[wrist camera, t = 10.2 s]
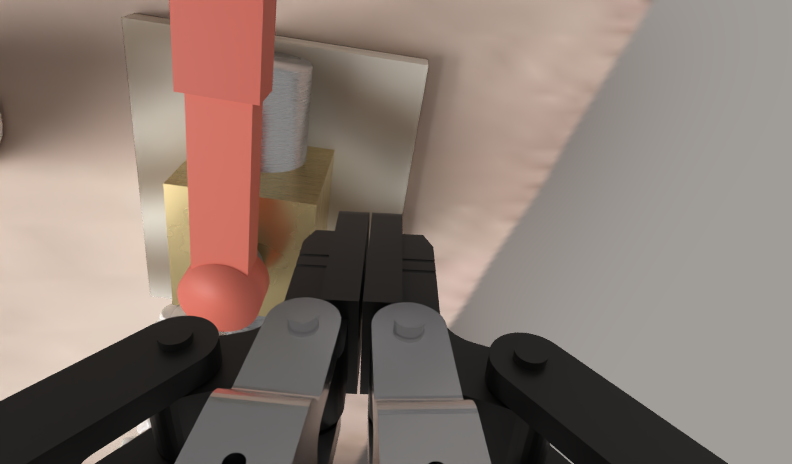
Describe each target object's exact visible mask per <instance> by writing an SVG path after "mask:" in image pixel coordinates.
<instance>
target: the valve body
mask: <svg viewBox="0 0 792 464" xmlns="http://www.w3.org/2000/svg"><path fill="white" fill-rule="evenodd" d="M312 69H313V65H312V63H310V62H309V61H308V60H306V59H303V58H301V57H298V56H295V55H291V54H287V53H282V52H276V51H274V65H273V87H272V92H271V93H270V94H269V95H268V96H267V98H266V99H265V100H264V101H263V112H262V139H261V166H260V193H259V219H258V246H257V250H258V251H259V253H260V254H261V256H262V259H263V263H264V264H265V266H266V268H267V270H268V273H269V278H270V283H269V288H268V291H267V293H266V296H265V298H264V301H263V304H262V306H261V309H260V311H259V314H258V316H257V318H256V319H255V320H254V321H253V322H252V323H251V324H250V325H249V326H247V327H245V328H243V329H241V330H237V331H231V332H225V333H226V335H228V334H234V333H240V332H245V331H249V330H252V329H256V328H258V327H260V326H262V324H263V321H264V319H265V317H266V315H267V314H268V312H269V311H270V310H271V309H272V308H273V307H275V306H276V305H278V304H280V303H282V302H284V300H285V297H286V294H287V291H288V287H289V284H290V281H291V278H292V275H293V272H294V269H295V267H296V262H297V259H298V256H299V253H300V250H301V247H302V244H303V241H304V240H305V239H306V238H307V237H308V236H309V235H311V234H312V233H313V232H314V231H315V230H327V225H328V215H329V204H330V194H331V184H332V173H333V163H334V152H335V150H332V149H325V148H318V147H311V146H307V142H308V128H309V113H310V98H311V84H312ZM163 188H164V201H165V213H166V226H167V239H168V252H169V264H170V277H171V290H172V303H173V305H179V306H180V304H179V301H178V297H177V289H178V285H179V282H180V280H181V279H182V277H183V276H184V274H185V273H186V271H187V269H188V268H189V266H190V265H191V257H190V230H189V204H188V177H187V159H186V160H185V161H184V162H183V163H182V164H181V165H180V166H179V167H178V169H177V170H176V171H175V172H174V173H173V174H172V175H171V176H170V177H169V178H168V179H167V180H166V181H165V182H164V183H163Z"/></svg>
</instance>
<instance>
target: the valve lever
mask: <svg viewBox="0 0 792 464" xmlns="http://www.w3.org/2000/svg"><path fill="white" fill-rule="evenodd" d="M169 8H170V29H171V49H172V70H173V91H174V92H179V93H184V97H185V124H186V150H187V177H188V204H189V230H190V257H191V265H190V266H189V268H188V269H187V271H186V273H185V274H184V276H183V277H182V279H181V280H180V282H179V285H178V289H177V297H178V301H179V304H180V306H181V308H182V309H183V311H184V312H185V313H186V315H187V316H197V317H202V318H205V319H207V320H209V321H211V322H212V323H213V324H214V325H215V326H216V327H217V329H218V331H221V332H231V331H237V330H241V329H243V328H245V327H247V326H249V325H250V324H251V323H252V322H253V321H254V320H255V319H256V318H257V316H258V314H259V311H260V309H261V306H262V304H263V301H264V298H265V296H266V293H267V291H268V288H269V283H270V278H269V273H268V270H267V268H266V266H265V264H264V263H263V259H262V256H261V254H260V253H259V251H258V250H257V246H258V219H259V193H260V166H261V139H262V112H263V101H264V100H265V99H266V98H267V96H268V95H269V94H270V93H271V92H272V87H273V65H274V43H275V21H276V0H169Z"/></svg>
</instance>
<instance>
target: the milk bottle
mask: <svg viewBox="0 0 792 464" xmlns="http://www.w3.org/2000/svg"><path fill="white" fill-rule="evenodd" d="M2 135H3V123H2V118H1V112H0V142H1V138H2Z"/></svg>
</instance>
